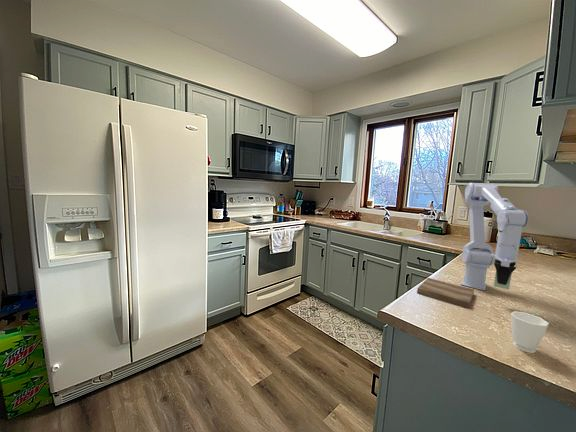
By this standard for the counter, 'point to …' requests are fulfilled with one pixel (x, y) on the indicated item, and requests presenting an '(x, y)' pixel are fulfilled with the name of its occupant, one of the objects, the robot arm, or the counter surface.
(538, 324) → the cup
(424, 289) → the base board
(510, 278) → the block
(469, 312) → the counter surface
